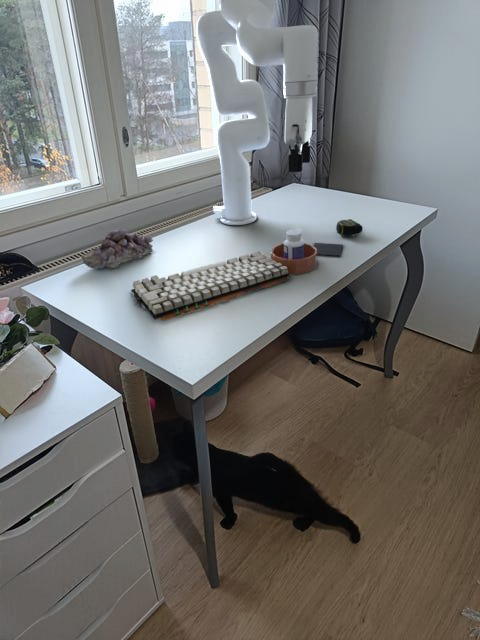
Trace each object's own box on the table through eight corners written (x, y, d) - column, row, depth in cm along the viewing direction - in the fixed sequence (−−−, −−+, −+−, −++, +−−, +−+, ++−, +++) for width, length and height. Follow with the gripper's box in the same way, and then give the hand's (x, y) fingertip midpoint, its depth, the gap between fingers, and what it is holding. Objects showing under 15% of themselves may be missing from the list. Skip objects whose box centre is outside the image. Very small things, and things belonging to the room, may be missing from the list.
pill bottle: (306, 260, 123) (306, 229, 118) (300, 268, 119) (300, 236, 114) (287, 258, 125) (287, 227, 120) (281, 266, 121) (281, 234, 116)
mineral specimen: (131, 228, 137) (138, 211, 129) (153, 253, 138) (162, 237, 129) (77, 262, 126) (81, 245, 118) (101, 289, 127) (107, 273, 118)
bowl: (267, 272, 119) (266, 258, 117) (276, 254, 128) (276, 241, 126) (312, 275, 116) (313, 261, 113) (319, 256, 125) (319, 243, 123)
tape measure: (363, 236, 136) (364, 224, 134) (342, 239, 135) (343, 227, 133) (351, 228, 142) (352, 217, 140) (331, 232, 140) (332, 220, 138)
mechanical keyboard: (254, 255, 128) (254, 244, 126) (294, 279, 114) (294, 267, 112) (128, 293, 113) (125, 281, 111) (155, 327, 99) (152, 314, 97)
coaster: (310, 254, 127) (310, 253, 126) (314, 244, 133) (314, 242, 133) (339, 256, 125) (339, 255, 124) (342, 245, 131) (342, 244, 131)
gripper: (292, 87, 111) (292, 159, 120) (274, 94, 97) (276, 175, 106) (322, 85, 109) (320, 159, 117) (309, 92, 95) (307, 175, 104)
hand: (299, 166), depth 112 cm, fingers open, 9 cm apart
